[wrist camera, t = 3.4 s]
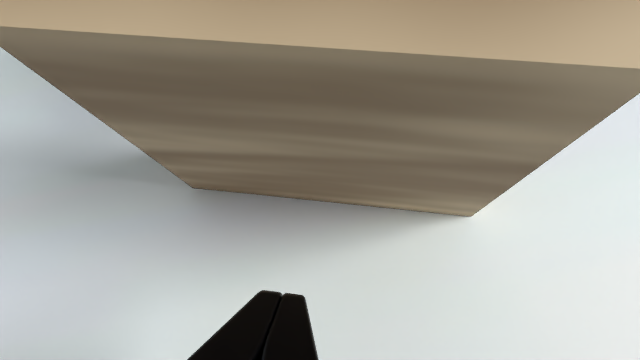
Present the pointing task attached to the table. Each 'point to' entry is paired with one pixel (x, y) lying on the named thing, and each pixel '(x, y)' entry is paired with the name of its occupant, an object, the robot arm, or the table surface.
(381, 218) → the table surface
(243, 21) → the square wooden board
